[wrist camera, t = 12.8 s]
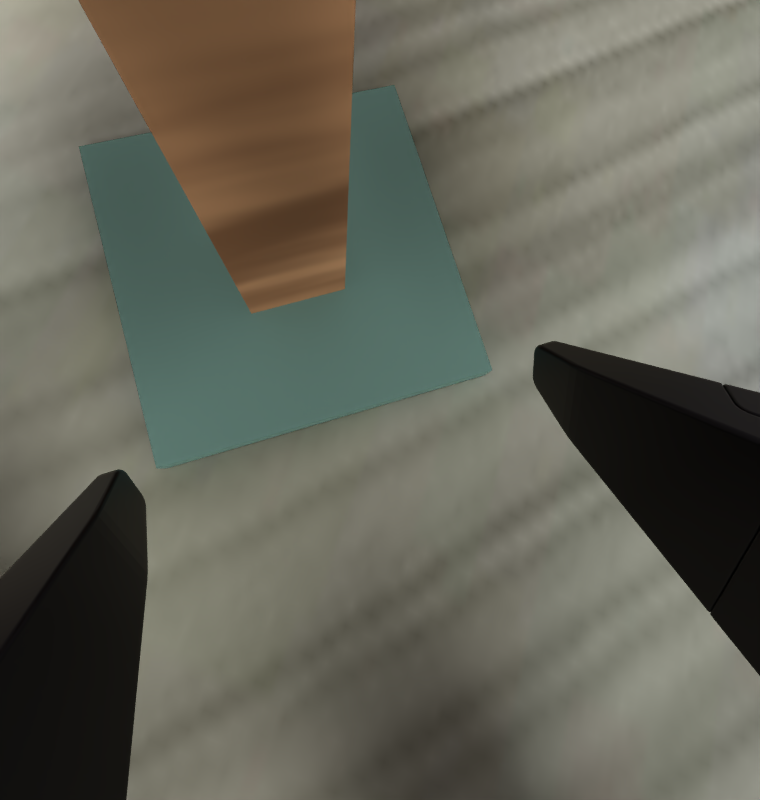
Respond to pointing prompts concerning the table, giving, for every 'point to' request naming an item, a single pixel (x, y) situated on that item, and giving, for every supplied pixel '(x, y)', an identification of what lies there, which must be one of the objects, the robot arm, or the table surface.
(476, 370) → the mat
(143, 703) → the table surface
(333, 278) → the plug
